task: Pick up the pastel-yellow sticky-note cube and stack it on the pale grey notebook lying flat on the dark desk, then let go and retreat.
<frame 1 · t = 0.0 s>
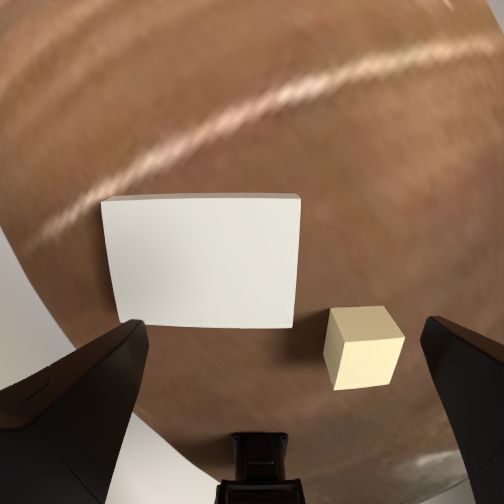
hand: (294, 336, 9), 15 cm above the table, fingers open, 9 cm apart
sticky note cube: (352, 330, 26), on the table
notebook: (202, 255, 24), on the table
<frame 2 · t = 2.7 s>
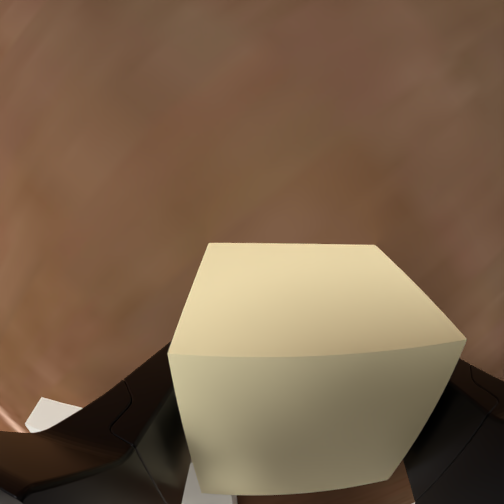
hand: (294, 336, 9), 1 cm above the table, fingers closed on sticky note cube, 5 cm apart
sticky note cube: (290, 317, 10), on the table, touching gripper
notebook: (156, 476, 15), on the table
when the fingers open (5 cm above the table, at t = 6.6 s): sticky note cube drops 2 cm, resting on notebook.
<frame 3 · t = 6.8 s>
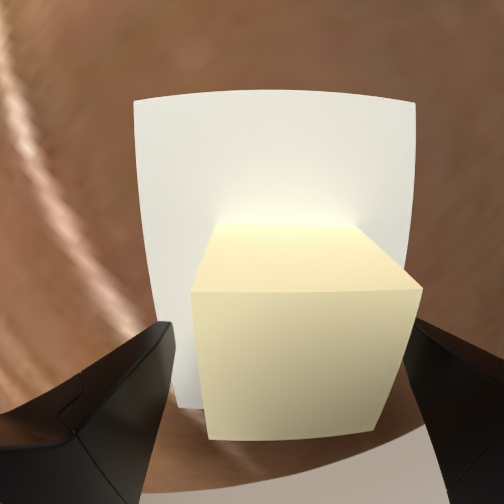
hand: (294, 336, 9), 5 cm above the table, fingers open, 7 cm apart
sticky note cube: (284, 289, 12), point 2 cm above the table, touching notebook
notebook: (276, 260, 14), on the table, touching sticky note cube
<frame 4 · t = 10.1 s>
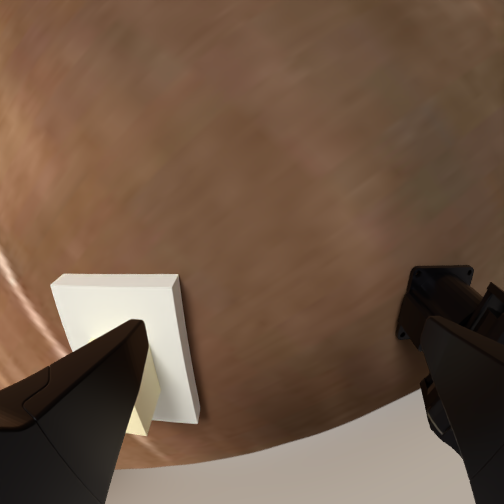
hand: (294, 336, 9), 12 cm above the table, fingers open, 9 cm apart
sticky note cube: (126, 365, 22), point 2 cm above the table
notebook: (134, 346, 24), on the table
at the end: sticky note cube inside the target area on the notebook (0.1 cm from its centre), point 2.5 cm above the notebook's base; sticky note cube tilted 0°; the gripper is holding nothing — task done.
